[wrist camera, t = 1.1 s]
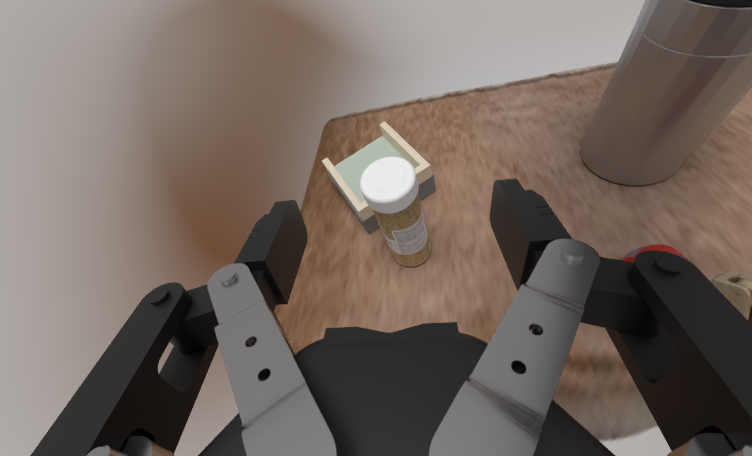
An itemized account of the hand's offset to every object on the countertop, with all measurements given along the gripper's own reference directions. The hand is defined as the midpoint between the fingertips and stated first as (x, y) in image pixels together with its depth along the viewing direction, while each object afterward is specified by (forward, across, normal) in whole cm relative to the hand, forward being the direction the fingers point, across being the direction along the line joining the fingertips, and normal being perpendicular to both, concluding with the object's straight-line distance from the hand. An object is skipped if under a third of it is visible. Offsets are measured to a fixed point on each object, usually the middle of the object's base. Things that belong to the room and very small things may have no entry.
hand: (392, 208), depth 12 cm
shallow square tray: (+24, +3, +14) cm, 28 cm away
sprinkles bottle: (+15, 0, +17) cm, 23 cm away
